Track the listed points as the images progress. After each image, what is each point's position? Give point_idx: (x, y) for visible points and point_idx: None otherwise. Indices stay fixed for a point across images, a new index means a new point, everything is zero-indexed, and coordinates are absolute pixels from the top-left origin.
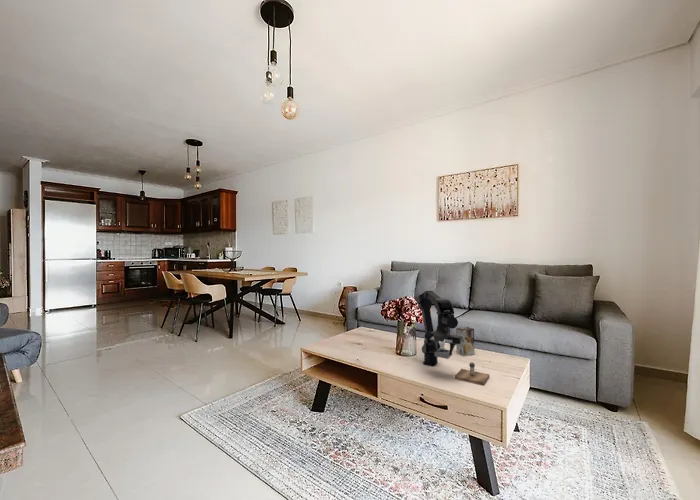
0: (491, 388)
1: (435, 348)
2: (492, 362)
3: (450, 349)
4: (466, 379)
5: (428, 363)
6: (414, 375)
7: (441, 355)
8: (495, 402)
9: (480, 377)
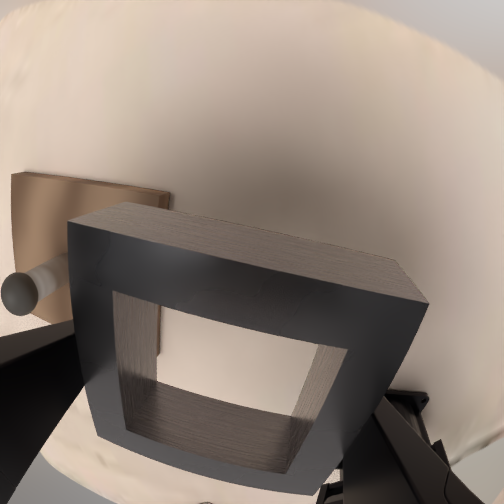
0: (4, 156)
1: (400, 440)
2: (91, 454)
3: (5, 352)
4: (85, 182)
5: (396, 400)
6: (487, 151)
7: (237, 238)
8: (9, 25)
9: (32, 245)
